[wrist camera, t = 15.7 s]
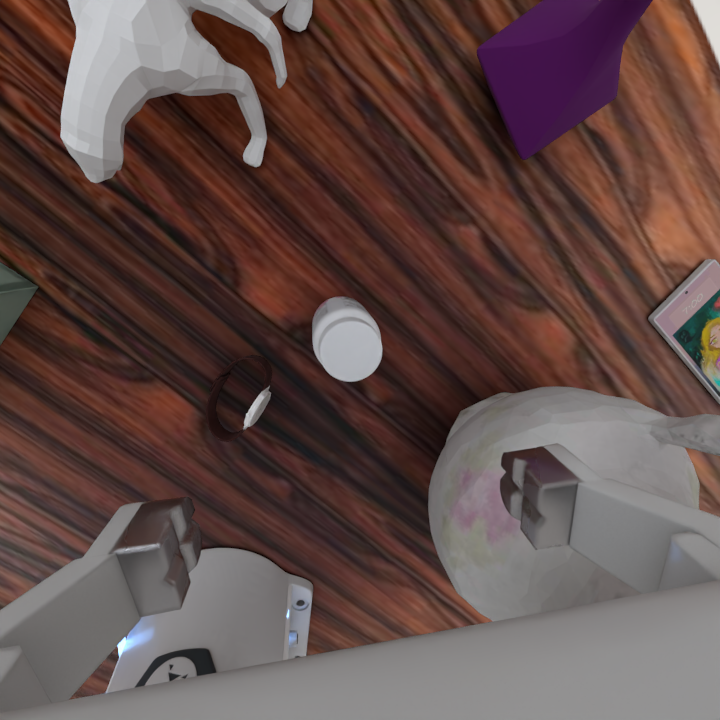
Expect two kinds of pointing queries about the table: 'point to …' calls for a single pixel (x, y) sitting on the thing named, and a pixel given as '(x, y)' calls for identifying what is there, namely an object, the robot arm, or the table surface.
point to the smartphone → (695, 324)
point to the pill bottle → (346, 339)
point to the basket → (12, 298)
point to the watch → (254, 410)
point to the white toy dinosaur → (159, 68)
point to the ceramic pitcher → (502, 531)
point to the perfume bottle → (557, 66)
